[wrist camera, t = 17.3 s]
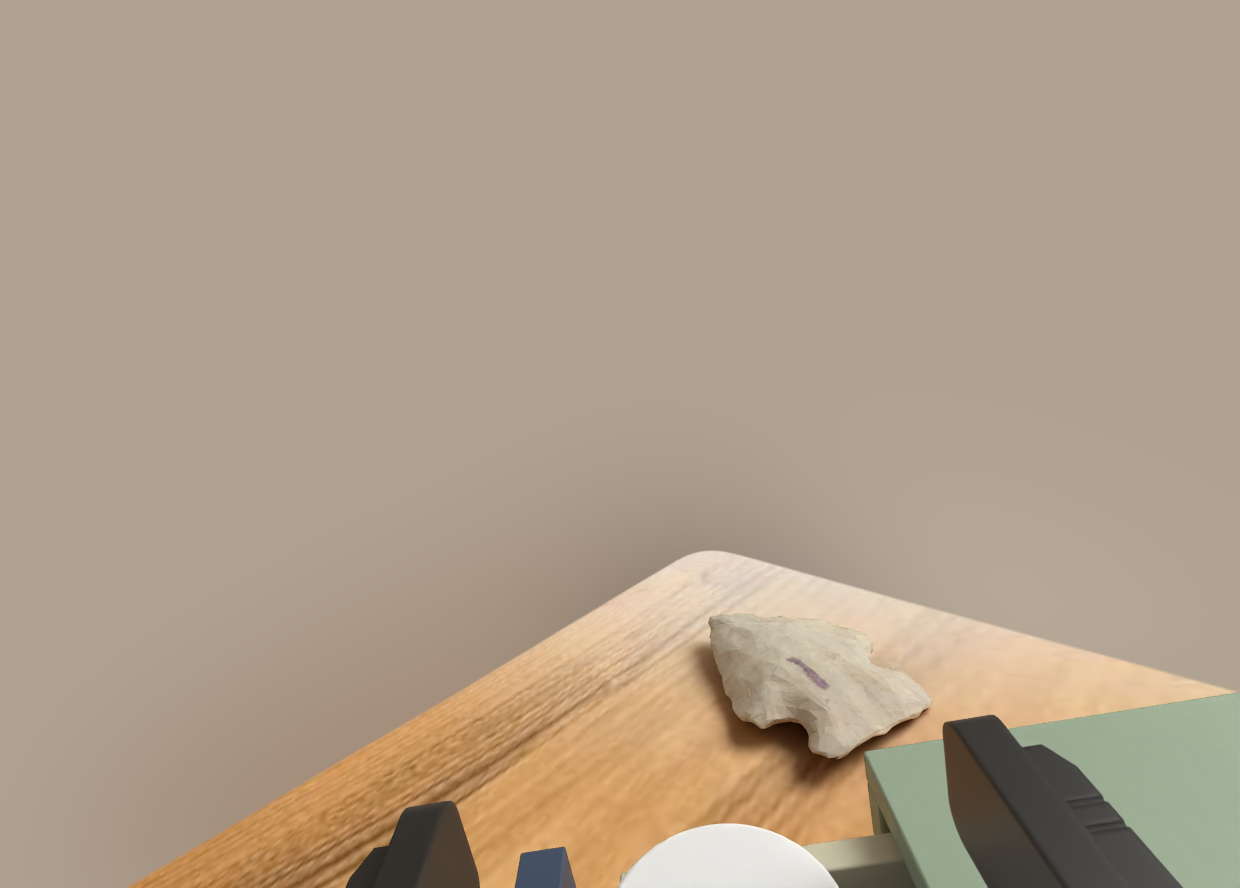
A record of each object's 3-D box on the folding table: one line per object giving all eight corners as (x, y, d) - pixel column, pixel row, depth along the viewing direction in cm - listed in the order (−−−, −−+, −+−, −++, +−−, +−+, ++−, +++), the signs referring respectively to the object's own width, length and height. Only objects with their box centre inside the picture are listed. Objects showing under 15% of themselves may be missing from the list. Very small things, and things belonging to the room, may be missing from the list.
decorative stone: (829, 814, 28) (831, 756, 27) (651, 666, 37) (647, 619, 36) (949, 717, 32) (955, 664, 31) (762, 606, 41) (761, 562, 40)
